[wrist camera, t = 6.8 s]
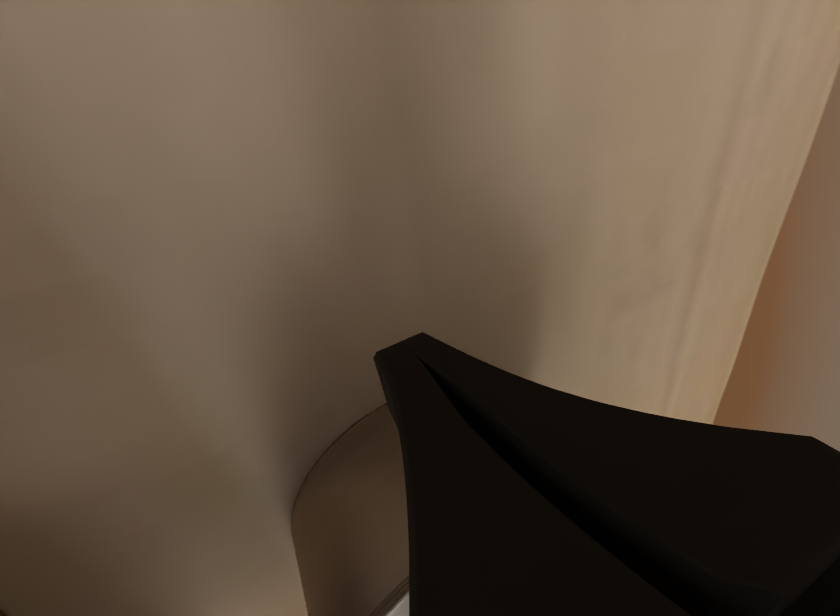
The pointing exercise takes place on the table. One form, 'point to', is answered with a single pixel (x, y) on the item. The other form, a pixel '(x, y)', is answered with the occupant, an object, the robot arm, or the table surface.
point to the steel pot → (355, 525)
